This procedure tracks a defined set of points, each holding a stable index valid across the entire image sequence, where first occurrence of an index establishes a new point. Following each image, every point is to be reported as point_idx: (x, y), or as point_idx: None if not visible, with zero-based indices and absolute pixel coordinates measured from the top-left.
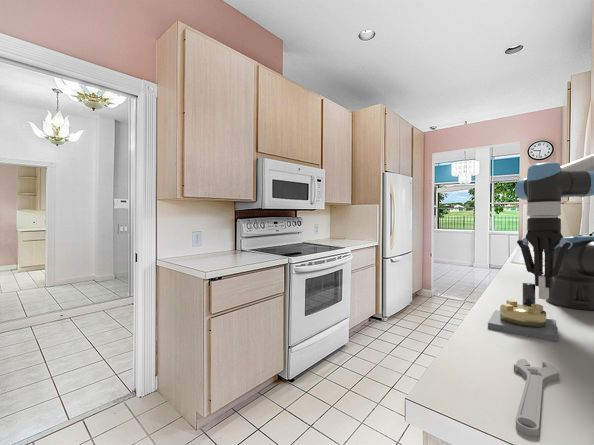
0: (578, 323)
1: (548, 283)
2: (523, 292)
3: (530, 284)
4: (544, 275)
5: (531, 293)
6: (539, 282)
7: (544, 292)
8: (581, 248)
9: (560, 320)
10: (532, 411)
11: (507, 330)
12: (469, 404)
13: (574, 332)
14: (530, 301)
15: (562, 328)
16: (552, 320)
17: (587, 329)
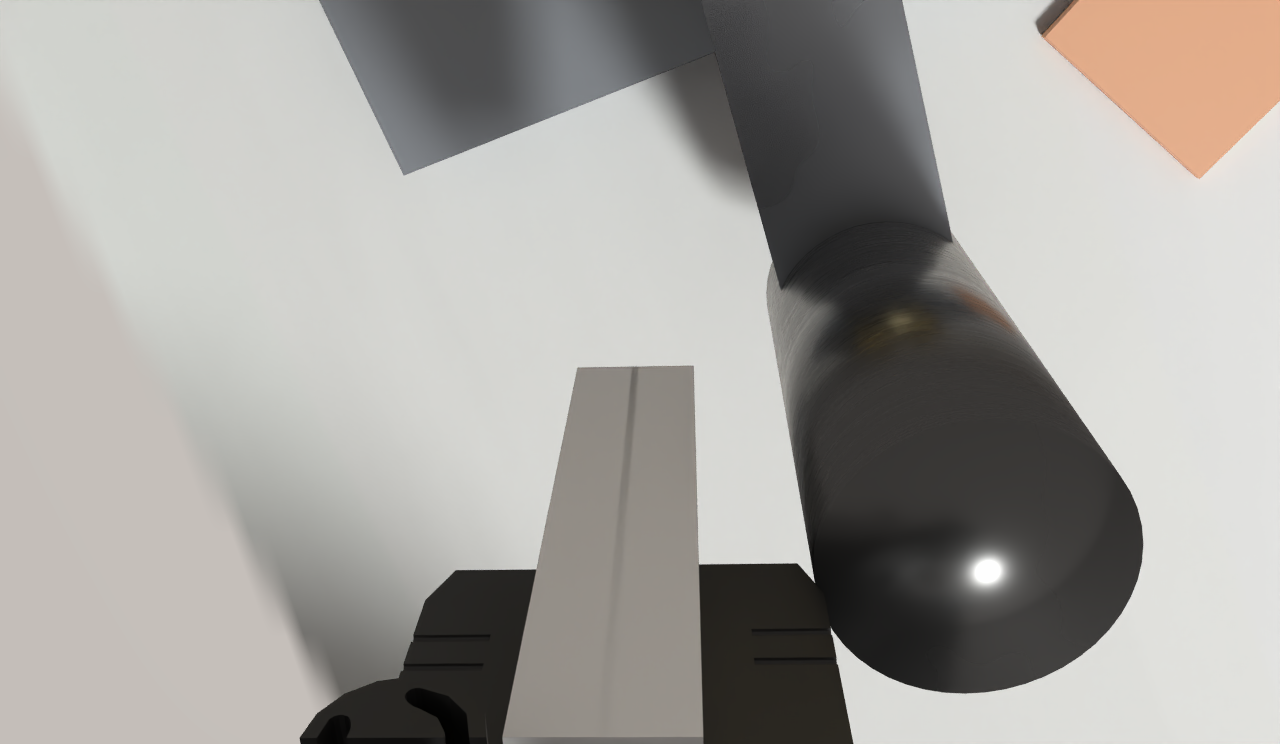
0: (349, 539)
1: (464, 653)
2: (1012, 331)
3: (916, 520)
4: (467, 739)
5: (832, 354)
6: (675, 589)
7: (565, 446)
8: None
9: (524, 482)
10: None
11: None
12: None
13: (146, 53)
14: (824, 268)
15: (317, 100)
16: (423, 106)
17: (162, 365)
